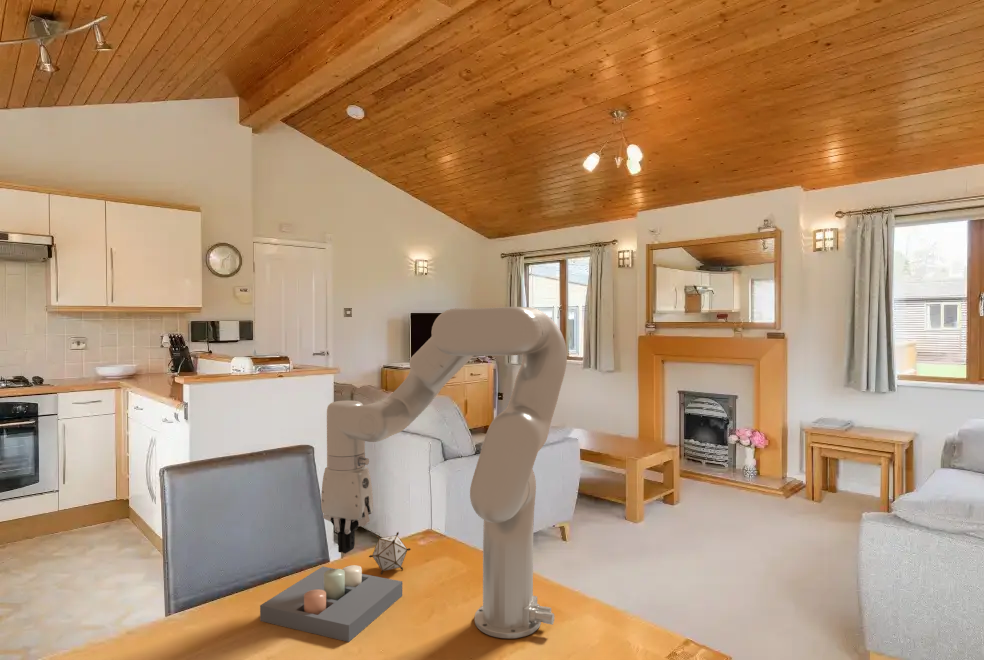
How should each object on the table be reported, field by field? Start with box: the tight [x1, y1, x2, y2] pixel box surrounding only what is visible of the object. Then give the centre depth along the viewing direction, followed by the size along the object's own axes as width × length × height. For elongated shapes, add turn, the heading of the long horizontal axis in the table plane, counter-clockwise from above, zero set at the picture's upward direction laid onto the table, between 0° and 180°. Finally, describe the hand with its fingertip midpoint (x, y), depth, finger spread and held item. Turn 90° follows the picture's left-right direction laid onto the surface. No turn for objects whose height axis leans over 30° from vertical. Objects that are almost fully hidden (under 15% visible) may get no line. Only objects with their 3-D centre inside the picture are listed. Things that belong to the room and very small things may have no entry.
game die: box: [368, 531, 412, 575], centre depth 137 cm, size 9×8×10 cm
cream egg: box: [342, 564, 363, 587], centre depth 125 cm, size 4×4×5 cm
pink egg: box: [304, 589, 326, 615], centre depth 113 cm, size 4×4×5 cm
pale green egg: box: [324, 568, 345, 601], centre depth 119 cm, size 4×4×5 cm
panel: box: [259, 566, 403, 643], centre depth 119 cm, size 20×19×3 cm
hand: (346, 550), depth 123 cm, fingers closed
